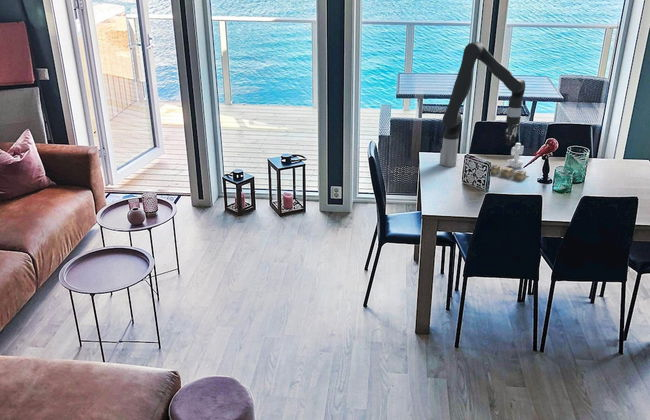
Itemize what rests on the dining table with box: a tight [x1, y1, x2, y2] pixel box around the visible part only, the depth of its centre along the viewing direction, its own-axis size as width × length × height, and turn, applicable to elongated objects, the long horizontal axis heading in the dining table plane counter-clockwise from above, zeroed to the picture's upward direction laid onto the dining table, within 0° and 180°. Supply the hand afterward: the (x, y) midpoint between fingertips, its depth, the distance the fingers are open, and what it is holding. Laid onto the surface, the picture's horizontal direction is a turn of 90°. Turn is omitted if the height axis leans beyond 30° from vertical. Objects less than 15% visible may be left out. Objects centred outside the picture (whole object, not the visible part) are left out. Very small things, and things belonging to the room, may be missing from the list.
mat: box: [490, 169, 530, 183], centre depth 359 cm, size 22×14×1 cm, turn 50°
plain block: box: [500, 166, 514, 177], centre depth 358 cm, size 5×5×4 cm
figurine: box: [507, 142, 525, 169], centre depth 371 cm, size 7×9×15 cm
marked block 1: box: [490, 163, 501, 174], centre depth 362 cm, size 5×5×4 cm
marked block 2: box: [513, 169, 527, 181], centre depth 353 cm, size 5×5×4 cm
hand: (510, 143), depth 351 cm, fingers open, 5 cm apart
